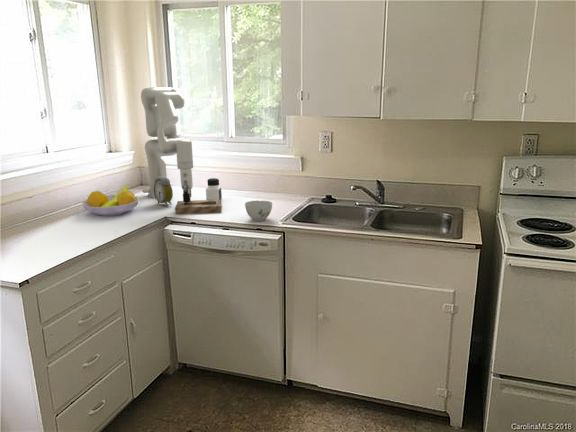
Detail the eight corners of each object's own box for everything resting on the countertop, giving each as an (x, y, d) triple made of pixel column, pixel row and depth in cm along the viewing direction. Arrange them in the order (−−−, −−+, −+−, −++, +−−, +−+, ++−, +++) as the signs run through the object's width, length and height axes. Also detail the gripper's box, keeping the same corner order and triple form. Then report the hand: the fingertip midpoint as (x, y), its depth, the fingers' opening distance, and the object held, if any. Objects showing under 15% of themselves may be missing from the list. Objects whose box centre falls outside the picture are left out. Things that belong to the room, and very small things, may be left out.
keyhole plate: (175, 214, 232) (175, 207, 231) (178, 207, 245) (177, 201, 244) (221, 212, 234) (221, 206, 234) (221, 205, 248) (221, 199, 247)
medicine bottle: (219, 202, 255) (218, 179, 252) (206, 202, 255) (205, 180, 252) (221, 199, 262) (220, 177, 259) (208, 199, 262) (207, 177, 259)
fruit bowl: (107, 222, 219) (104, 198, 216) (71, 214, 233) (68, 191, 230) (154, 209, 242) (152, 187, 239) (119, 202, 256) (117, 181, 253)
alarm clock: (154, 204, 252) (152, 176, 248) (166, 202, 256) (164, 174, 252) (164, 208, 244) (162, 179, 240) (176, 205, 248) (174, 177, 244)
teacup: (276, 221, 218) (276, 204, 215) (250, 224, 213) (249, 207, 211) (265, 213, 231) (265, 197, 229) (240, 216, 227) (240, 200, 224)
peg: (182, 211, 236) (181, 187, 233) (183, 209, 241) (181, 185, 238) (192, 211, 237) (191, 187, 234) (193, 208, 242) (192, 185, 239)
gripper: (191, 167, 225) (194, 203, 230) (194, 162, 242) (196, 195, 246) (175, 168, 224) (178, 203, 229) (178, 162, 241) (181, 195, 245)
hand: (187, 199), depth 238 cm, fingers open, 9 cm apart
